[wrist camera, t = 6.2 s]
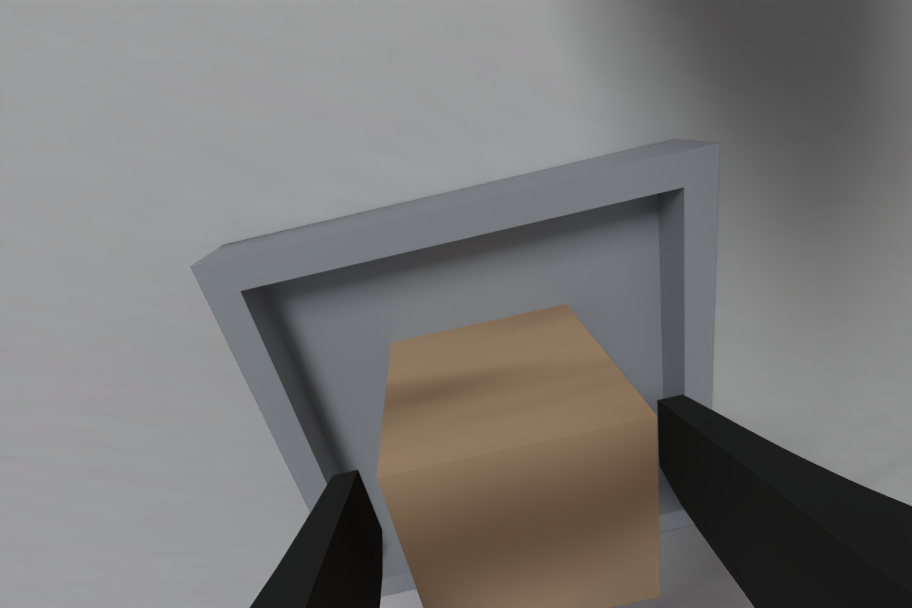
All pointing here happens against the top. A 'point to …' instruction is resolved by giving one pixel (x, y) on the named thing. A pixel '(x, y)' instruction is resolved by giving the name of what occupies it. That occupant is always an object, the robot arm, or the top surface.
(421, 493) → the walnut cube
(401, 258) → the slate tray
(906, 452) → the top surface
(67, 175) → the top surface
